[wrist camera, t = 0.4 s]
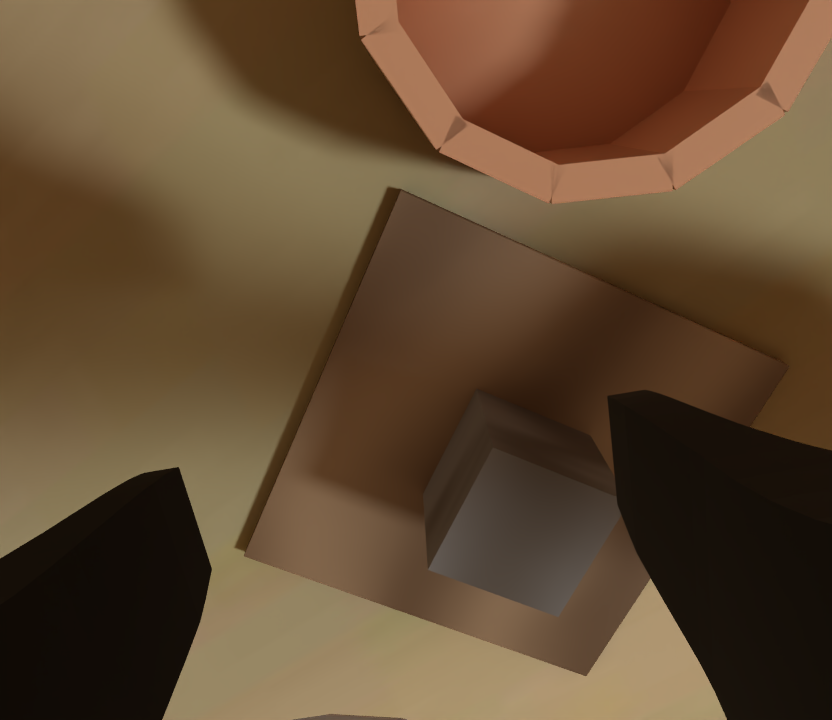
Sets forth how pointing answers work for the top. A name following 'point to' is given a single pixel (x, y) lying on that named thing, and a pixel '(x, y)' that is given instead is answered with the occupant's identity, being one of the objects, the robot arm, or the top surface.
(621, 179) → the pot
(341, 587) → the lid
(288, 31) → the top surface
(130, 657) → the robot arm
